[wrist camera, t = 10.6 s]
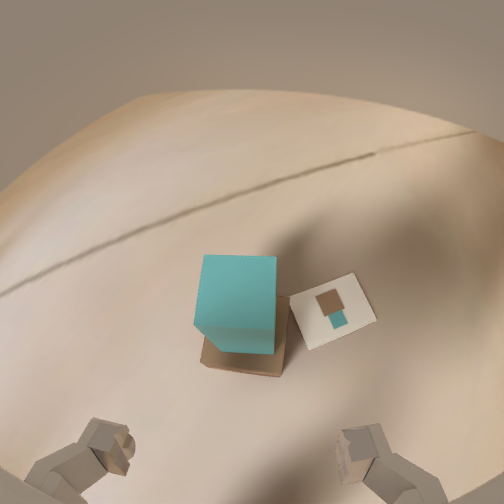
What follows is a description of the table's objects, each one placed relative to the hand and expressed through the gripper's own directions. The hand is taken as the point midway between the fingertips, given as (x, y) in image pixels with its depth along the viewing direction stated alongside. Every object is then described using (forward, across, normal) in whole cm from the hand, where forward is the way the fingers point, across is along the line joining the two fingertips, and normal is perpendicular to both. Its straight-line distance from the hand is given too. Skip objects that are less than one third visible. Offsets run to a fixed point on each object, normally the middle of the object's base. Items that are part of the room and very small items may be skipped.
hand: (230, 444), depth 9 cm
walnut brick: (+18, 0, +7) cm, 19 cm away
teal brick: (+15, 0, +4) cm, 16 cm away
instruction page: (+20, -8, +5) cm, 22 cm away
